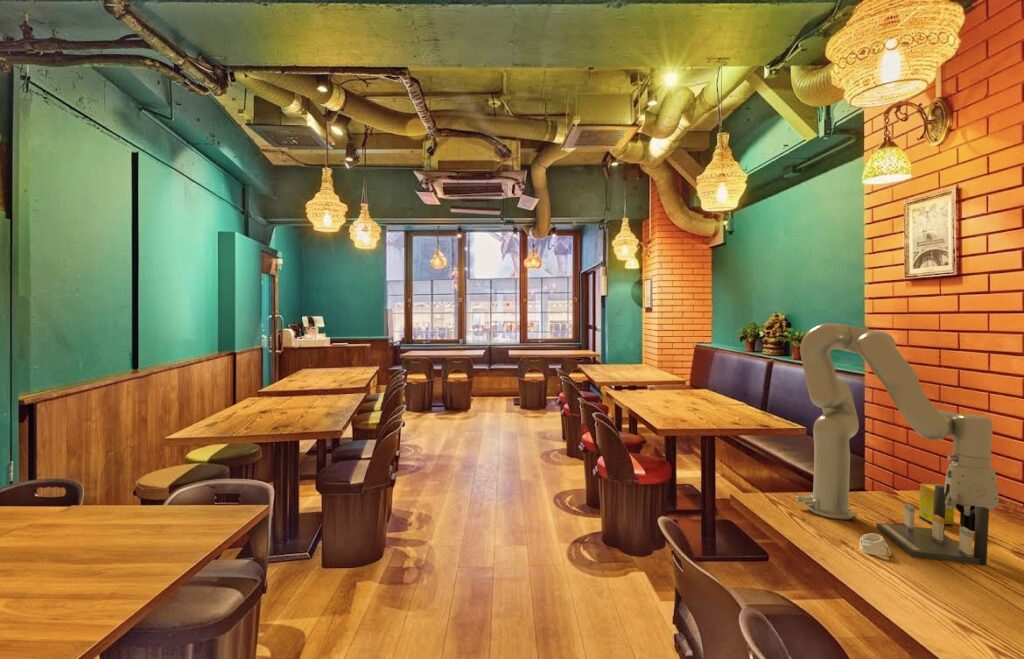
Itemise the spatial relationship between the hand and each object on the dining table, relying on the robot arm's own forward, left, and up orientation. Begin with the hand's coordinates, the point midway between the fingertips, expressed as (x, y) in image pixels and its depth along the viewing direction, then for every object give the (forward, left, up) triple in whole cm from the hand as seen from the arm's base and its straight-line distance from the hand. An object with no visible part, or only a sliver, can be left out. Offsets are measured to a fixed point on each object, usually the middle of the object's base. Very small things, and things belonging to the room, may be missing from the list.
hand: (968, 529), depth 132 cm
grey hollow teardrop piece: (-26, -8, -6) cm, 28 cm away
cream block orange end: (-7, 0, -4) cm, 8 cm away
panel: (-10, 0, -6) cm, 11 cm away
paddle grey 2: (-5, -7, -4) cm, 10 cm away
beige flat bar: (-10, +8, -4) cm, 13 cm away
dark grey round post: (-2, 0, -6) cm, 6 cm away
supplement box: (+3, +19, -6) cm, 20 cm away
